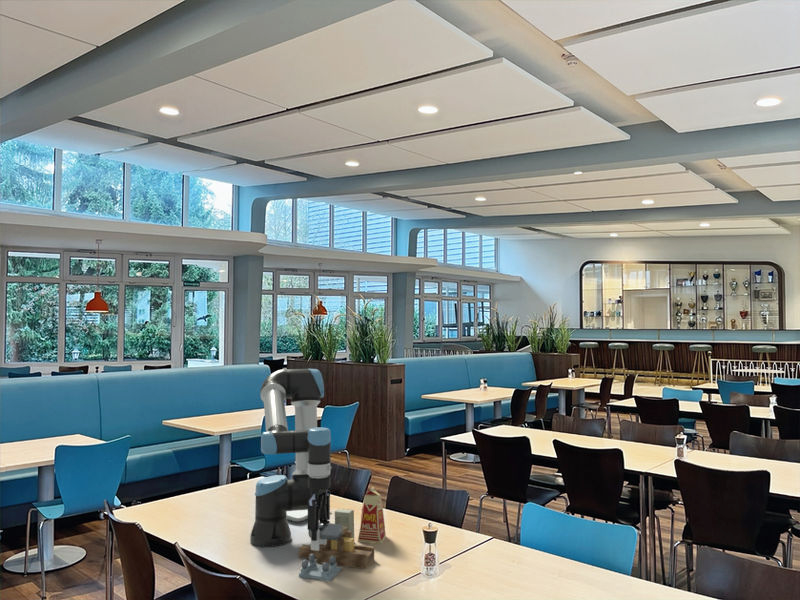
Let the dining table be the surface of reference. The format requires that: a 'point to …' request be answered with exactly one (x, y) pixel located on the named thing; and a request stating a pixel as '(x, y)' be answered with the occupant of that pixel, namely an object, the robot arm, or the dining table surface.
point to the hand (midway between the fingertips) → (318, 546)
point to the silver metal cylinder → (329, 531)
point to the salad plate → (297, 515)
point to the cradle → (319, 569)
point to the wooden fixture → (341, 553)
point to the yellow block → (347, 544)
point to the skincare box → (345, 519)
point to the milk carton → (372, 519)
